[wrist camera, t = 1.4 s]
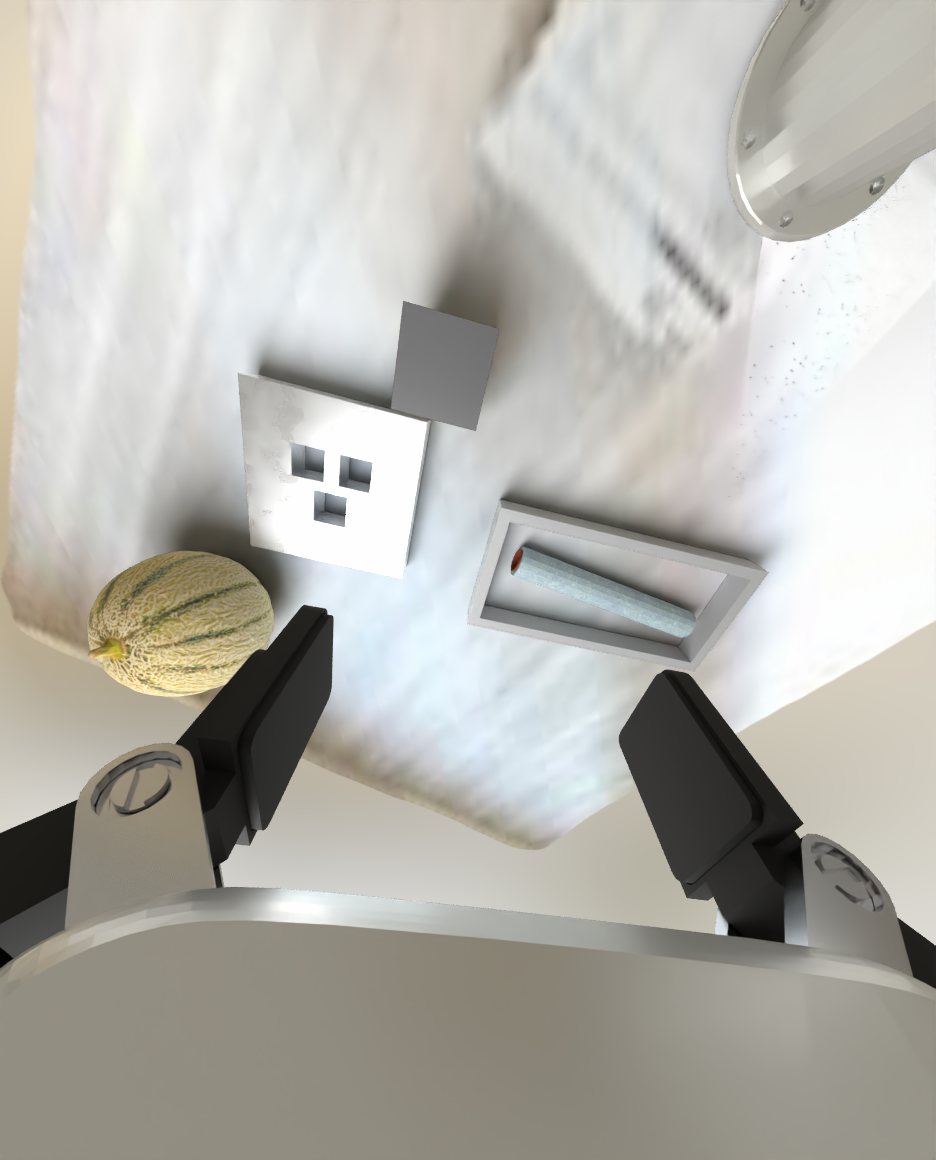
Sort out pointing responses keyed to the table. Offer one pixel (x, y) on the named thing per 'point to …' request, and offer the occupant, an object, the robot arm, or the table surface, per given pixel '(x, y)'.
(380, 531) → the socket
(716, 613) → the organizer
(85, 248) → the table surface
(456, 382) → the plug
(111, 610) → the cantaloupe
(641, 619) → the aluminum foil
